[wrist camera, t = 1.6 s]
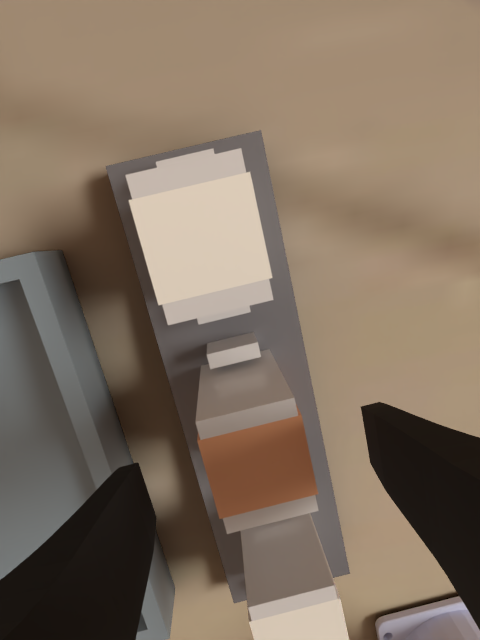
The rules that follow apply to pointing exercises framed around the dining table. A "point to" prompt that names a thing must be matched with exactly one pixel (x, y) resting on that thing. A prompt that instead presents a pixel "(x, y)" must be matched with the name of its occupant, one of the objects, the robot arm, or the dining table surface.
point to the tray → (57, 421)
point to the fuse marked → (253, 444)
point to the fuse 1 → (201, 236)
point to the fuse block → (236, 347)
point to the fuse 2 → (290, 583)
